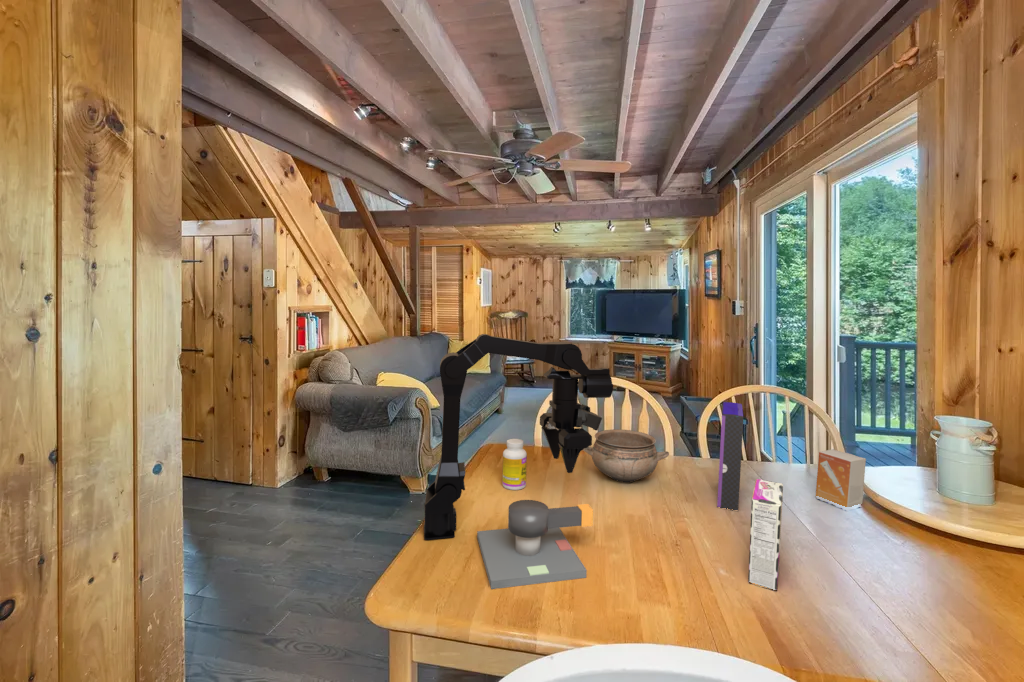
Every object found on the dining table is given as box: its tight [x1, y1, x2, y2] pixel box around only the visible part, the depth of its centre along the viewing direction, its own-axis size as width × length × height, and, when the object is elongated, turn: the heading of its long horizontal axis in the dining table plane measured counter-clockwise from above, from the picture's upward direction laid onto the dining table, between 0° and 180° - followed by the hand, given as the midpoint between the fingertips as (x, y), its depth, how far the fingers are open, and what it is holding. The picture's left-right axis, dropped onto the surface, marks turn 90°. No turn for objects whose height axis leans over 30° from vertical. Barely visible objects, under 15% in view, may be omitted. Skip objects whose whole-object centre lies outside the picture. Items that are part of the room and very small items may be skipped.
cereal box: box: [716, 401, 744, 511], centre depth 120 cm, size 17×5×24 cm, turn 154°
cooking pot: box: [582, 428, 670, 484], centre depth 133 cm, size 25×19×12 cm
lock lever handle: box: [507, 499, 594, 538], centre depth 91 cm, size 17×8×4 cm, turn 102°
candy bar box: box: [747, 478, 784, 591], centre depth 86 cm, size 11×5×16 cm, turn 148°
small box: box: [815, 449, 867, 507], centre depth 117 cm, size 8×6×13 cm
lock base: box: [476, 527, 588, 590], centre depth 91 cm, size 18×18×6 cm
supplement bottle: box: [502, 438, 528, 491], centre depth 126 cm, size 7×7×13 cm
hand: (562, 465), depth 103 cm, fingers open, 9 cm apart
